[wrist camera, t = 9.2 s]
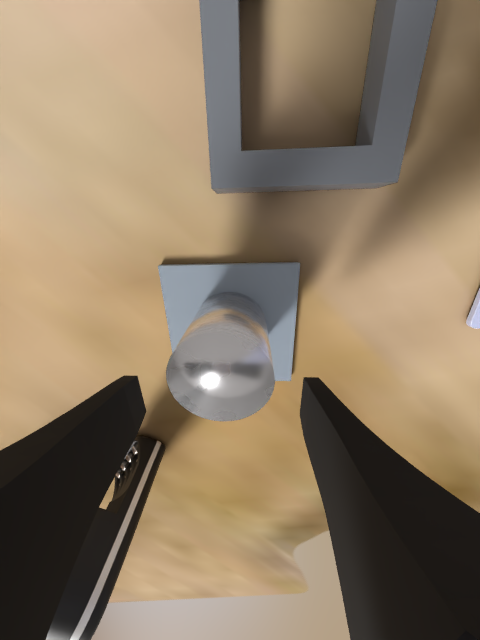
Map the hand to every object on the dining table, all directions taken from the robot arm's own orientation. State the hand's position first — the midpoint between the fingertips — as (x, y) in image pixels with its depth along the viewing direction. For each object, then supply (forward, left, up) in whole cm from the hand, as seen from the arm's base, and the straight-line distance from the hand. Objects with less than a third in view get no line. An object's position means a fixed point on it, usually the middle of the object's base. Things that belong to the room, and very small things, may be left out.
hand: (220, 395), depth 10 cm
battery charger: (+10, +14, -7) cm, 19 cm away
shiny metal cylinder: (0, 0, -7) cm, 7 cm away
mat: (0, 0, -7) cm, 7 cm away
